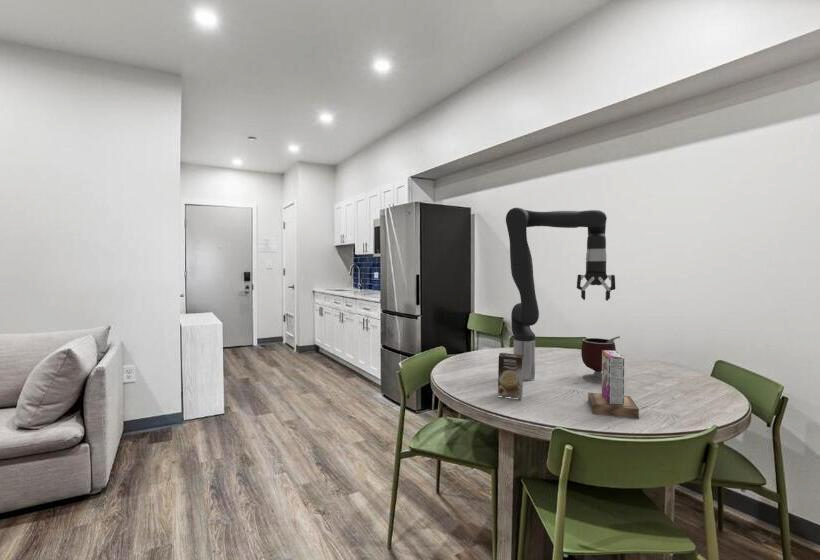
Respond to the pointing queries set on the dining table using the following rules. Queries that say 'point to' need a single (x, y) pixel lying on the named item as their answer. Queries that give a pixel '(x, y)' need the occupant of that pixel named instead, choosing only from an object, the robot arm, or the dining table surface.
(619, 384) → the candy bar box
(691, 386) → the dining table surface
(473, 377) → the dining table surface
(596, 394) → the walnut board
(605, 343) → the mate gourd
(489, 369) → the dining table surface
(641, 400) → the dining table surface
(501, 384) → the coffee box
